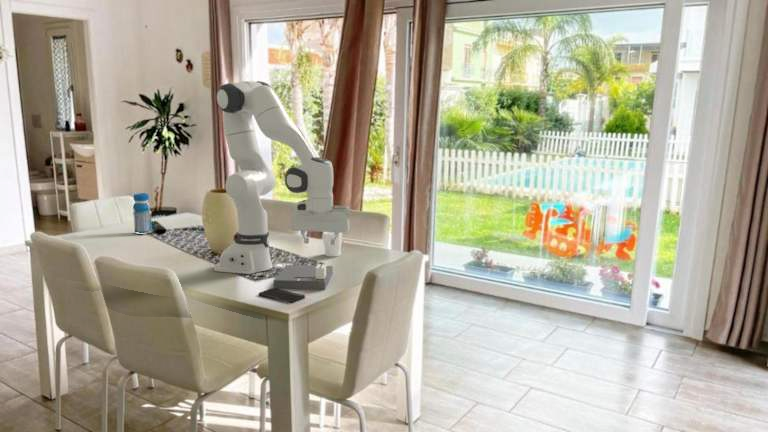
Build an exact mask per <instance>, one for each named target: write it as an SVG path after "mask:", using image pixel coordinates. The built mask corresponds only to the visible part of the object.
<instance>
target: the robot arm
mask: <svg viewBox="0 0 768 432" xmlns="http://www.w3.org/2000/svg"><path fill="white" fill-rule="evenodd" d="M215 100H216V104H217V106H218V107H219V109H220V111H222V112H223V113H222V121H223V129H224V130H223V131H224V134H225V141H226V143H227V148H228V152H229V156H230V157H231V159H232V160H233V161H234V162H235V163H236V164H237V166H238V168H239V170H238V171H236V172H234V173H233V174H231V175H230V176H229V177H227V179H226V180H225V188H224V189H225V191H226V193H227V195H228V196H229V197H230V198H231V199H232V200H233V202H234V206H235V209H236V212H237V220H238V221H237V222H238V223H237V225H238V231H237V232H235V234H234V235H233V237H232V238H233V241H234V242H233V243H231V244H230V246H228V247H226V248H225V249H224V250H223V251H222V252H221V254H220V256H219V262H217V263H216V264H215V265H214V267H213V271H215V272H218V273H219V272H221V273H233V274H247V275H249V274H250V275H251V274H255V273H259V272H263V271H264V272H265V271H269V270H271V269H272V268H273V266H274V265H273V263H272V258H271V255H270V254H271V253H270V248H269V247H270V233H269V231H268V229H269V228H268V213H267V210H266V209H264V207H263V204H262V202H261V196H265V195H267V194H269V193H270V192H271V191H272V190H274V188H275V187H276V184H277V180H276V179H277V178H276V175H275V174H274V172H273V171H272V170H270V169H269V167H268V166H267V164H266V161H265V160H264V158H263V156H262V153H261V151H260V147H259V143H258V140H257V135H256V131H255V126H254V124H253V118H254V119H255V121H256V124H257V126H258V128H259V129H260V132H262V133H263V135H264V136H265V137H266V138H268V139H270V140H273V141H276V142H279V143H282V144H284V145H286V146H288V147H289V148H290V149H292V150H293V152H294V153H295V154H296V157H297V158H298V160H299V161H300V164H298V165H295V166H292V167H289V168H288V169H287V170H286V172H285V175H284V184H285V187H286V189H287V190H288V191H289V192H291V193H294V194H304V193H306V194H307V199H304V200H301V201H300V200H299V201H297V202H296V203H294V206H293V208H294V211H292V214H291V218H290V229H291V230H292V231H297V232H299V231H300V235H301V236H302V239H303V243H304V244H309V242H310V237H307V236H306V232H320V233H321V232H322V233H323V232H334V235H336V236H335V238H334V239H331V244H332V245H335V243H336V238H337V236H338V235H339V232H340V233H342V234H343V233H344V234H346V233H348V231H349V229H350V221H349V220H350V219H349V218H350V217H351V210H350V208H349V207H347V206H346V205H336V204H335V205H334V193H333V187H334V168H333V164H332V161H331V160H329V159H327V158H324V157H318V156H317V154H316V153H315V151H314V149H313V148H312V146H311V144H310V143H309V141H308V140H307V138H306V137H305V135H304V133H303V132H302V131H301V130H300V129H299V127H298V126H297V125H296V124H295V123H294V122H293V121H292V119H291V117H290V116H289V115H288V113H287V111H286V109H285V107H284V104H283V103H282V101H281V99H280V97H279V96H278V95H277V93H276V92H275V91H274V89H273V88H272V86H270V85H269V84H268V83H267V82H265V81H260V80H258V81H249V80H248V81H244V80H243V81H240V82H233V83H225V84H222V85H220V86H219V87H218V89H217V90H216V94H215Z"/></svg>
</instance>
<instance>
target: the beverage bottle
mask: <svg viewBox="0 0 768 432" xmlns="http://www.w3.org/2000/svg"><path fill="white" fill-rule="evenodd" d="M149 197H150V196H149V194H148V193H143V192H141V193H140V192H139V193H134V194H133V201H134V204H133V207H132V210H133V212H132V215H133V222H134V223H133V224H134V233H135V232H139V233H145V232H149V231H151V230H152V231H153V226H152V209H151V208H152V207H151V204H150V203H149V202H148V201H149V200H150V199H149Z"/></svg>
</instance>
